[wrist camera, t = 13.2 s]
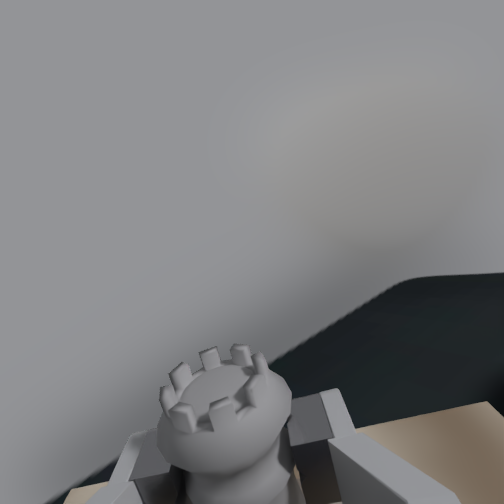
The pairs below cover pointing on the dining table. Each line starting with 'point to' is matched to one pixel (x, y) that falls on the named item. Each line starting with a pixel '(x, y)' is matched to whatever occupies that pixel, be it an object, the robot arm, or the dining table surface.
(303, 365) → the dining table surface
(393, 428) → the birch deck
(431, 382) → the dining table surface
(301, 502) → the rook chess piece
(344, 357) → the dining table surface
